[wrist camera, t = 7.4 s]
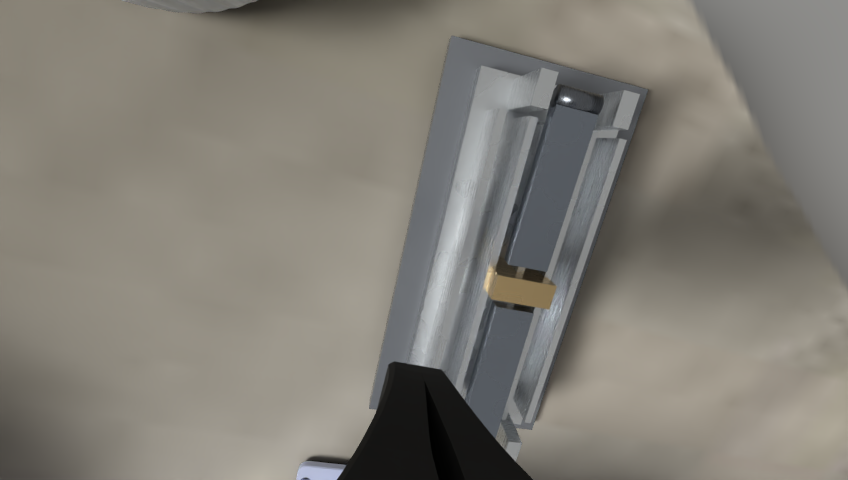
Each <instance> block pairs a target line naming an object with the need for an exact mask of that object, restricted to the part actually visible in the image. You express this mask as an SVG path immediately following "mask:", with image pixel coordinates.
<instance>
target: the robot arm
mask: <svg viewBox="0 0 848 480" xmlns="http://www.w3.org/2000/svg"><path fill="white" fill-rule="evenodd" d="M305 477H307V478H309V479H304V478H305ZM296 480H533V479H532V478H531V477H530V476H529V475H528V474H527V473H526V472H525V471H524V470H523V469H522V468H521V467H520V466H519V465H518V464H517V463H516V462H515V460H514V459H513V458H512V457H511V456H510V455H509V454H508V453H507V451H506V450H505V449H504V448H503V447H502V446H501V445H500V444H499V442H498V441H497V440H496V439H495V438H494V437H493V435H492V434H491V433H490V432H489V431H488V429H487V428H486V427H485V426H484V424H483V423H482V422H481V421H480V419H479V418H478V417H477V416H476V414H475V413H474V412H473V410H472V409H471V408H470V407H469V405H468V404H467V403H466V401H465V400H464V399H463V397H462V396H461V395H460V393H459V392H458V391H457V389H456V388H455V386H454V385H453V384H452V382H451V381H450V380H449V378H448V377H447V376H446V374H445V373H444V372H443V371H442V369H436V368H430V367H425V366H419V365H413V364H407V363H401V362H395V361H394V362H392V363H390V364H388V368H387V372H386V376H385V380H384V384H383V387H382V391H381V395H380V399H379V403H378V407H377V411H376V414H375V416H374V418H373V420H372V422H371V424H370V426H369V428H368V430H367V432H366V434H365V435H364V437H363V439H362V441H361V443H360V444H359V446H358V448H357V449H356V451H355V453H354V454H353V456H352V458H351V459H350V461H349V462H348V464H347V465H342V464H333V463H324V462H314V461H305V462H303V463H301V464H300V466H299V469H298V473H297V479H296Z"/></svg>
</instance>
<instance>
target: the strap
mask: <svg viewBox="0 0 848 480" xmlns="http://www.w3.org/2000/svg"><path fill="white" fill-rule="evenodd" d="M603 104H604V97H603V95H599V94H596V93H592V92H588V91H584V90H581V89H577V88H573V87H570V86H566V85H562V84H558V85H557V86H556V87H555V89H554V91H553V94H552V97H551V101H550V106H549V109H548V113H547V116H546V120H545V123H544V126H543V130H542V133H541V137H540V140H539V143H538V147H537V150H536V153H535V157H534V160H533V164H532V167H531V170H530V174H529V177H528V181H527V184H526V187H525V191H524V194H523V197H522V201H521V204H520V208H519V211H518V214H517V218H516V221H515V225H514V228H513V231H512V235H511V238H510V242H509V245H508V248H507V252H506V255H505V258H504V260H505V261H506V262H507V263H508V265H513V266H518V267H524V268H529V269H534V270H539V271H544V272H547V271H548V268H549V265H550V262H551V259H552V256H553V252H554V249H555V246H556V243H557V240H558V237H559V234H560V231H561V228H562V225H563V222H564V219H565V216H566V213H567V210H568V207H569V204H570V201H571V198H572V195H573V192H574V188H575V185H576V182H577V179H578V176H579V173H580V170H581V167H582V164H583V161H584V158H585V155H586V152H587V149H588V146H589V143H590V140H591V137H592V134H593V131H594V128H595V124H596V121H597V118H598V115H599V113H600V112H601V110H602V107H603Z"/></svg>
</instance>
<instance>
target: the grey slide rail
mask: <svg viewBox="0 0 848 480" xmlns="http://www.w3.org/2000/svg"><path fill="white" fill-rule="evenodd" d="M558 73H559V72H556V71H553V70H549V69H545V68H539V69H537V70H535V71H532V72H530V73H528V74H525V75H523V76H520V75H516V74H512V73H508V72H505V71H501V70H497V69H493V68H490V67H486V66H482V65H481V66H480V67H478V68H477V69H476V71H475V75H474V80H473V84H472V88H471V92H470V96H469V100H468V105H467V109H466V113H465V117H464V121H463V126H462V130H461V134H460V138H459V142H458V146H457V151H456V155H455V159H454V163H453V167H452V171H451V176H450V180H449V184H448V188H447V192H446V197H445V201H444V205H443V209H442V213H441V217H440V222H439V226H438V230H437V234H436V238H435V242H434V247H433V251H432V255H431V259H430V263H429V267H428V272H427V276H426V280H425V284H424V288H423V293H422V297H421V301H420V305H419V309H418V313H417V318H416V322H415V326H414V330H413V334H412V338H411V343H410V347H409V351H408V355H407V359H406V363H407V364H413V365H419V366H425V367H430V368H436V369H442V371H443V372H444V373H445V374H446V376H447V377H448V378H449V380H450V381H451V382H452V384H453V385H454V386H455V388H456V389H457V391H458V392H459V393H460V395H461V396H462V397H463V399H464V400H465V397H466V394H467V390H468V386H469V383H470V379H471V376H472V372H473V369H474V365H475V361H476V358H477V354H478V351H479V347H480V344H481V340H482V336H483V333H484V329H485V326H486V322H487V318H488V315H489V311H490V308H491V304H492V301H496V302H501V303H507V304H512V305H518V306H524V307H529V308H530V309H531V311H532V312H533V313H534V315H533V319H532V322H531V325H530V328H529V332H528V335H527V338H526V341H525V345H524V348H523V351H522V354H521V358H520V361H519V364H518V367H517V371H516V374H515V377H514V380H513V384H512V387H511V390H510V393H509V397H508V400H507V403H506V406H505V410H504V413H503V416H502V420H501V423H500V426H499V429H498V433H497V436H496V440H497V441H498V442H499V444H500V445H501V446H502V447H503V448H504V449H505V450H506V451H507V453H508V454H509V455H510V456H511V457H512V458H513V459H514V460H515V462H516V459H517V456H518V454H519V451H520V448H521V445H522V442H521V440H520V438H519V435H518V433H517V431H516V428H515V426H514V424H520V425H521V422H522V419H523V420H524V422H525V423H531V421H532V418H533V415H534V412H535V409H536V406H537V403H538V400H539V397H540V394H541V391H542V388H543V385H544V383H545V380H546V377H547V374H548V371H549V368H550V365H551V362H552V359H553V356H554V353H555V350H556V347H557V344H558V341H559V338H560V335H561V333H562V330H563V327H564V324H565V321H566V318H567V315H568V312H569V309H570V306H571V303H572V300H573V297H574V294H575V291H576V288H577V285H578V283H579V280H580V277H581V274H582V271H583V268H584V265H585V262H586V259H587V256H588V253H589V250H590V247H591V244H592V241H593V238H594V235H595V232H596V230H597V227H598V224H599V221H600V218H601V215H602V212H603V209H604V206H605V203H606V200H607V197H608V194H609V191H610V188H611V185H612V182H613V180H614V177H615V174H616V171H617V168H618V165H619V162H620V159H621V156H622V153H623V150H624V147H625V144H626V141H627V140H624V139H620V138H616V137H617V134H618V131H619V130H628V129H629V126H630V123H631V120H632V117H633V114H634V111H635V108H636V105H637V102H638V99H639V96H640V94H637V93H634V92H630V91H626V90H621V91H616V92H610V93H605V94H599V95H603V97H604V104H603V107H602V110H601V112H600V113H599V115H598V118H597V121H596V124H595V128H594V131H593V134H592V137H591V140H590V143H589V146H588V149H587V152H586V155H585V158H584V161H583V164H582V167H581V170H580V173H579V176H578V179H577V182H576V185H575V188H574V192H573V195H572V198H571V201H570V204H569V207H568V210H567V213H566V216H565V219H564V222H563V225H562V228H561V231H560V234H559V237H558V240H557V243H556V246H555V249H554V252H553V256H552V259H551V262H550V265H549V268H548V271H547V272H544V271H539V270H534V269H529V268H524V267H518V266H513V265H508V263H507V262H506V261H505V260H504V258H505V255H506V252H507V248H508V245H509V242H510V238H511V235H512V231H513V228H514V225H515V221H516V218H517V214H518V211H519V208H520V204H521V201H522V197H523V194H524V191H525V187H526V184H527V181H528V177H529V174H530V170H531V167H532V164H533V160H534V157H535V153H536V150H537V147H538V143H539V140H540V137H541V133H542V130H543V126H544V123H545V120H546V116H547V113H548V109H549V106H550V101H551V97H552V94H553V91H554V89H555V87H556V86H557V85H555V83H556V80H557V76H558Z"/></svg>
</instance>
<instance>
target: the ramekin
mask: <svg viewBox="0 0 848 480" xmlns="http://www.w3.org/2000/svg"><path fill="white" fill-rule="evenodd" d="M122 1H126V2H129V3H133V4H137V5H141V6H144V7H148V8H154V9H162V10H166V11H171V12H189V13H204V12H220V11H224V10H226V9H229V8H239V7H241V6H243V5H245V4H248V3H251V2H255V1H257V0H122Z"/></svg>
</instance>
